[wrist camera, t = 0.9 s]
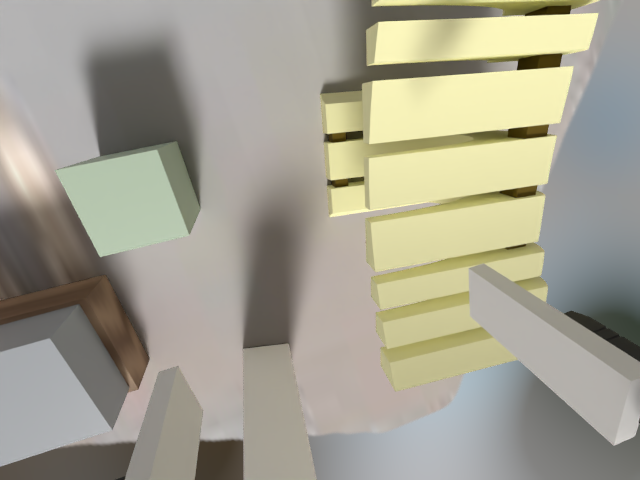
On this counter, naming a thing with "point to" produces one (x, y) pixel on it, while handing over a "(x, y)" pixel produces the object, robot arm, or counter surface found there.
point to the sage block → (132, 197)
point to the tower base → (101, 314)
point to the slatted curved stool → (452, 171)
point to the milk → (273, 417)
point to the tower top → (55, 384)
